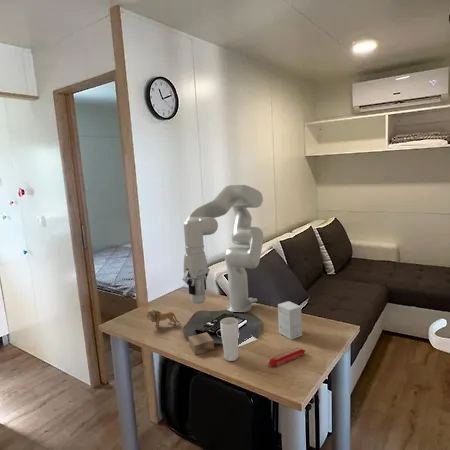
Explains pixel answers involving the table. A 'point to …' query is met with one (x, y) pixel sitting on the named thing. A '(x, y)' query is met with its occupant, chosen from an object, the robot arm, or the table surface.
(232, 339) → the drinking glass
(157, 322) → the lion figurine
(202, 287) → the energy drink can
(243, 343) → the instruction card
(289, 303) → the small box
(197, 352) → the walnut brick
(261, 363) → the table surface
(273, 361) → the candy bar
